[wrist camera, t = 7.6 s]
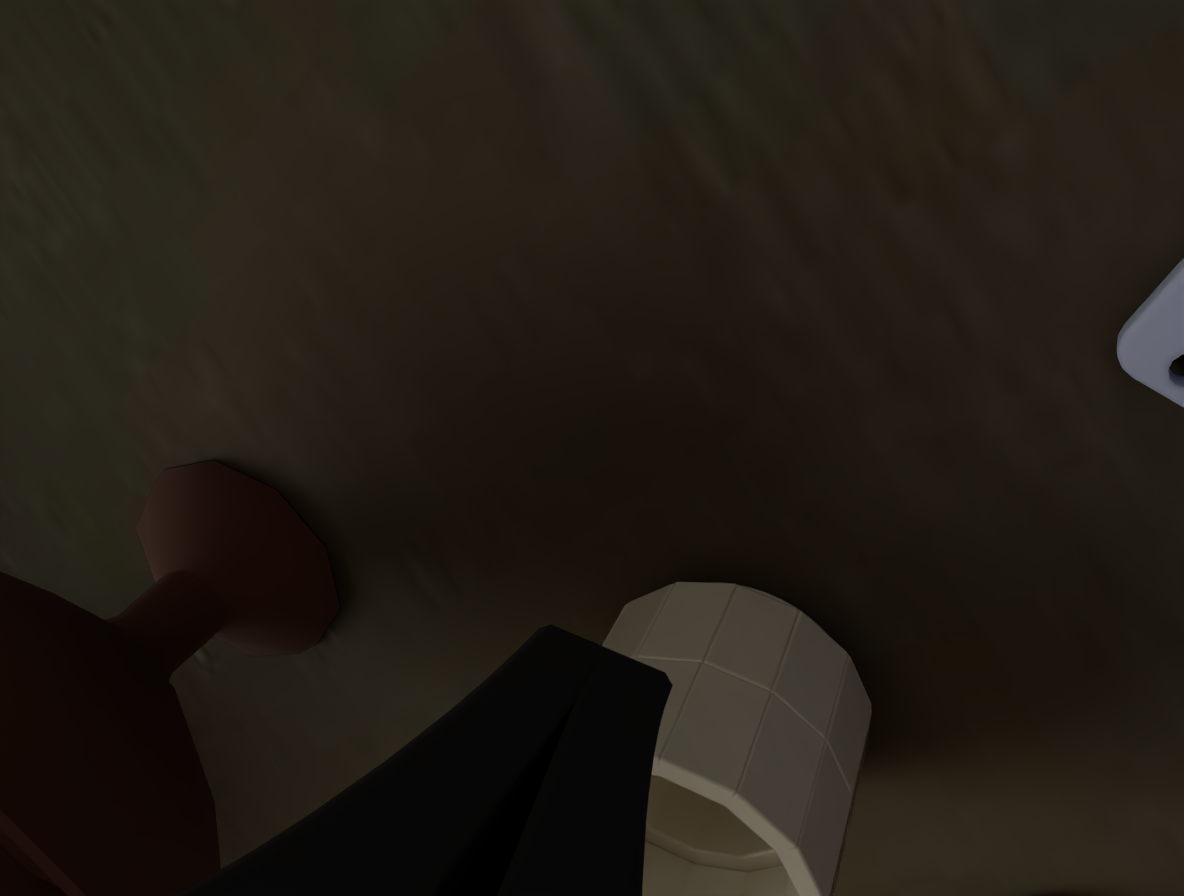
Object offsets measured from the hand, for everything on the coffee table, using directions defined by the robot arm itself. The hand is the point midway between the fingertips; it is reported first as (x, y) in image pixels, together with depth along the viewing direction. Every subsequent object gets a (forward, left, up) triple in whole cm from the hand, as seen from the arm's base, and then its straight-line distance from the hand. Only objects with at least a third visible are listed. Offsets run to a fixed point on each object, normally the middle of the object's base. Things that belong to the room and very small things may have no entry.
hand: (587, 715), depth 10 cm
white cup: (-3, +6, -8) cm, 11 cm away
